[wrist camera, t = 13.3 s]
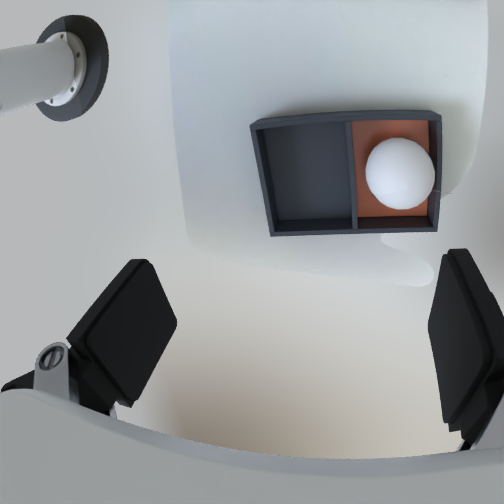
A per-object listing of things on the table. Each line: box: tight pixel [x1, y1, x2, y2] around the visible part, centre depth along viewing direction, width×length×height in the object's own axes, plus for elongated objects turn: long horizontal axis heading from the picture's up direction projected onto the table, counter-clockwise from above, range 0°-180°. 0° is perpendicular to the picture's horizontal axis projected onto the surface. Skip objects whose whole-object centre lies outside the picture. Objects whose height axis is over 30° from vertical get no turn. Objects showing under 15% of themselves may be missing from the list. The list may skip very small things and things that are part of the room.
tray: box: [250, 110, 442, 237], centre depth 31 cm, size 20×13×4 cm, turn 101°
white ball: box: [365, 138, 446, 210], centre depth 27 cm, size 10×7×7 cm
